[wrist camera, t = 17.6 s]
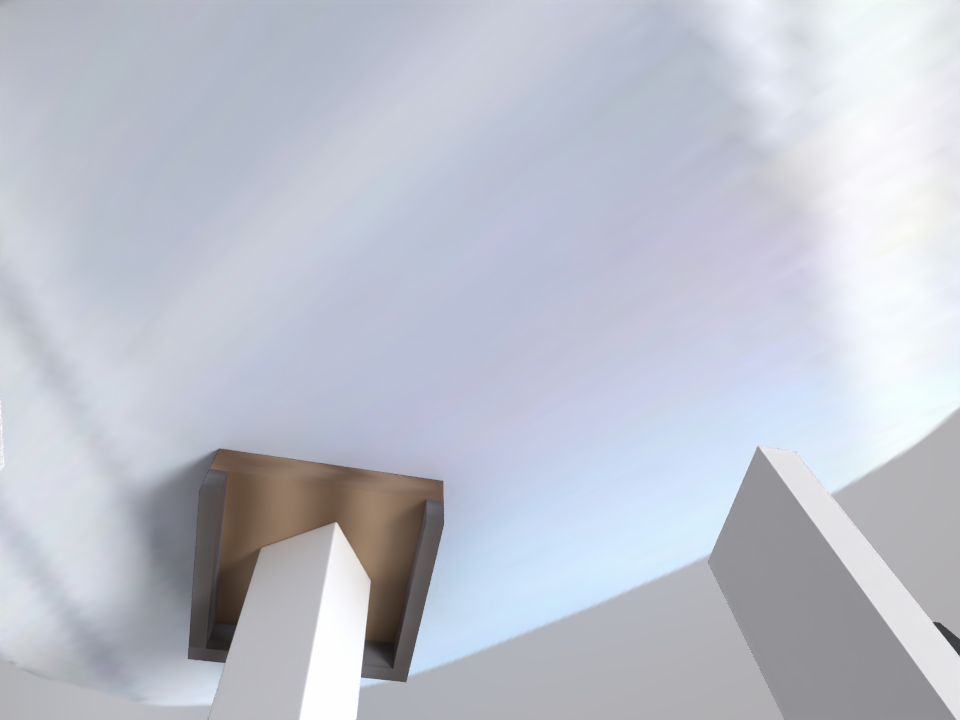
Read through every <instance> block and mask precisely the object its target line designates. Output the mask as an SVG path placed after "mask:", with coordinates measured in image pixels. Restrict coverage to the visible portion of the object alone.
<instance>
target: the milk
mask: <svg viewBox="0 0 960 720" xmlns="http://www.w3.org/2000/svg"><path fill="white" fill-rule="evenodd" d="M370 584H371V580H370V578H369V577H368V575H367V573H366V571H365V570H364V568H363V566H362V565H361V563H360V561H359V559H358V558H357V556H356V554H355V553H354V551H353V549H352V547H351V546H350V544H349V542H348V541H347V539H346V537H345V535H344V534H343V532H342V530H341V529H340V527H339V525H338V523H337V522H334V523H331V524H328V525H325V526H322V527H320V528H317V529H314V530H311V531H308V532H305V533H302V534H299V535H297V536H294V537H291V538H288V539H285V540H282V541H279V542H277V543H274V544H271V545H268V546H265V547H262V548H261V550H260V553H259V556H258V559H257V563H256V566H255V569H254V572H253V575H252V579H251V582H250V585H249V588H248V591H247V595H246V598H245V601H244V604H243V608H242V611H241V614H240V617H239V620H238V624H237V627H236V630H235V633H234V636H233V640H232V643H231V646H230V649H229V653H228V656H227V659H226V662H225V665H224V669H223V672H222V675H221V678H220V681H219V685H218V688H217V691H216V694H215V697H214V701H213V704H212V707H211V710H210V714H209V717H208V720H356V717H357V716H356V715H357V707H358V697H359V688H360V679H361V670H362V660H363V651H364V641H365V632H366V622H367V613H368V603H369V594H370Z"/></svg>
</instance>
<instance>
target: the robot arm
mask: <svg viewBox="0 0 960 720" xmlns="http://www.w3.org/2000/svg"><path fill="white" fill-rule="evenodd" d="M3 467H4V451H3V435H2V418H1V402H0V470H1V469H2V468H3ZM708 564H709V566H710V568H711V570H712V572H713V574H714V576H715V578H716V580H717V582H718V584H719V586H720V588H721V590H722V593H723V595H724V597H725V599H726V601H727V603H728V605H729V607H730V609H731V611H732V613H733V615H734V617H735V619H736V621H737V623H738V625H739V627H740V629H741V632H742V633H743V636H744V638H745V640H746V642H747V644H748V646H749V648H750V650H751V652H752V654H753V656H754V658H755V660H756V662H757V664H758V666H759V668H760V671H761V673H762V675H763V677H764V679H765V681H766V683H767V685H768V687H769V689H770V691H771V693H772V695H773V697H774V699H775V701H776V703H777V705H778V707H779V709H780V711H781V714H782V716H783V718H784V720H960V639H959V638H958V637H956V636H955V635H954V634H953V633H951V632H950V631H949V630H948V629H947V628H945V627H944V626H943V625H942V624H941V623H937V622H932V621H931V620H930V619H929V618H928V616H927V615H926V614H925V613H924V611H923V610H922V609H921V607H920V606H919V605H918V604H917V602H916V601H915V600H914V599H913V597H912V596H911V595H910V594H909V592H908V591H907V590H906V589H905V587H904V586H903V585H902V584H901V582H900V581H899V580H898V579H897V577H896V576H895V575H894V574H893V572H892V571H891V570H890V569H889V567H887V565H886V564H885V562H884V561H883V560H882V559H881V557H880V556H879V555H878V554H877V552H876V551H875V550H874V549H873V547H872V546H871V545H870V544H869V542H868V541H867V540H866V539H865V537H864V536H863V535H862V534H861V533H860V531H859V530H858V529H857V527H856V526H855V525H854V524H853V523H852V521H851V520H850V519H849V517H848V516H847V515H846V514H845V512H844V511H843V510H842V509H841V507H840V506H839V505H838V504H837V502H836V501H835V500H834V499H833V497H832V496H831V495H830V494H829V492H828V491H827V490H826V489H825V487H824V486H823V485H822V484H821V482H820V481H819V480H818V479H817V477H816V476H815V475H814V474H813V472H812V471H811V470H810V469H809V467H808V466H807V465H806V464H805V462H804V461H803V460H802V459H801V457H800V456H799V455H798V454H797V452H794V451H788V450H781V449H775V448H769V447H763V446H758V447H757V449H756V451H755V454H754V456H753V458H752V461H751V463H750V465H749V468H748V470H747V472H746V475H745V477H744V479H743V482H742V484H741V486H740V488H739V491H738V493H737V495H736V498H735V500H734V502H733V505H732V507H731V509H730V512H729V514H728V516H727V519H726V521H725V523H724V526H723V528H722V530H721V532H720V535H719V537H718V539H717V542H716V544H715V546H714V549H713V551H712V553H711V556H710V558H709V560H708Z"/></svg>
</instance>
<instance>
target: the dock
mask: <svg viewBox="0 0 960 720" xmlns="http://www.w3.org/2000/svg"><path fill="white" fill-rule="evenodd" d="M334 522H337V523H338V525H339V527H340V529H341V530H342V532H343V534H344V535H345V537H346V539H347V541H348V542H349V544H350V546H351V547H352V549H353V551H354V553H355V554H356V556H357V558H358V559H359V561H360V563H361V565H362V566H363V568H364V570H365V571H366V573H367V575H368V577H369V578H370V580H371V584H370V594H369V603H368V613H367V622H366V632H365V641H364V651H363V660H362V670H361V677H362V678H372V679H381V680H391V681H400V682H406V681H407V677H408V673H409V668H410V664H411V660H412V656H413V652H414V647H415V643H416V639H417V635H418V631H419V627H420V622H421V618H422V614H423V610H424V606H425V601H426V597H427V593H428V589H429V585H430V581H431V576H432V572H433V568H434V564H435V560H436V555H437V551H438V547H439V543H440V539H441V535H442V530H443V526H444V501H443V481H439V480H432V479H425V478H418V477H411V476H404V475H397V474H390V473H384V472H377V471H370V470H363V469H356V468H349V467H342V466H335V465H329V464H322V463H315V462H308V461H301V460H294V459H287V458H280V457H274V456H267V455H260V454H253V453H246V452H239V451H232V450H225V449H219V450H218V452H217V455H216V457H215V459H214V461H213V463H212V465H211V467H210V469H209V471H208V474H207V476H206V478H205V480H204V482H203V484H202V486H201V488H200V490H199V505H198V519H197V534H196V548H195V563H194V577H193V592H192V606H191V621H190V635H189V650H188V659H193V660H203V661H212V662H221V663H225V662H226V659H227V656H228V653H229V649H230V646H231V643H232V640H233V636H234V633H235V630H236V627H237V624H238V620H239V617H240V614H241V611H242V608H243V604H244V601H245V598H246V595H247V591H248V588H249V585H250V582H251V579H252V575H253V572H254V569H255V566H256V563H257V559H258V556H259V553H260V550H261V548H262V547H265V546H268V545H271V544H274V543H277V542H279V541H282V540H285V539H288V538H291V537H294V536H297V535H299V534H302V533H305V532H308V531H311V530H314V529H317V528H320V527H322V526H325V525H328V524H331V523H334Z"/></svg>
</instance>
